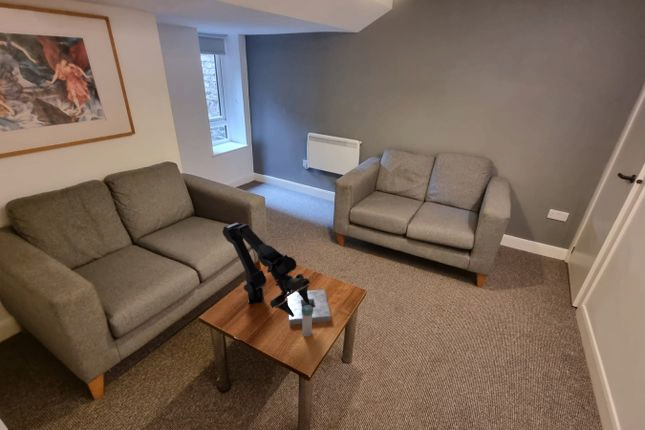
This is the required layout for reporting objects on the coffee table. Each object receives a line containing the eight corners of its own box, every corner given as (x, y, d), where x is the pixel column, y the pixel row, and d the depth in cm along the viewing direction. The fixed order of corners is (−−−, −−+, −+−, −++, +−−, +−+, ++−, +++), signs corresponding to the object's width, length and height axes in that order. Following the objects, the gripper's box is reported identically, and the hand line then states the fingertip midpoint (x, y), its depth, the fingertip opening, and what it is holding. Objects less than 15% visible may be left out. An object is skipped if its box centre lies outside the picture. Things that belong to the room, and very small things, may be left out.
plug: (302, 337, 128) (302, 313, 123) (301, 329, 132) (301, 305, 127) (313, 336, 129) (313, 312, 123) (311, 328, 133) (312, 304, 127)
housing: (289, 324, 134) (289, 319, 133) (287, 297, 150) (287, 292, 149) (330, 321, 137) (330, 315, 136) (324, 294, 153) (324, 289, 152)
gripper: (273, 282, 117) (295, 318, 116) (307, 261, 131) (326, 294, 129) (261, 290, 125) (281, 324, 123) (293, 270, 138) (312, 300, 137)
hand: (301, 310), depth 128 cm, fingers open, 9 cm apart
